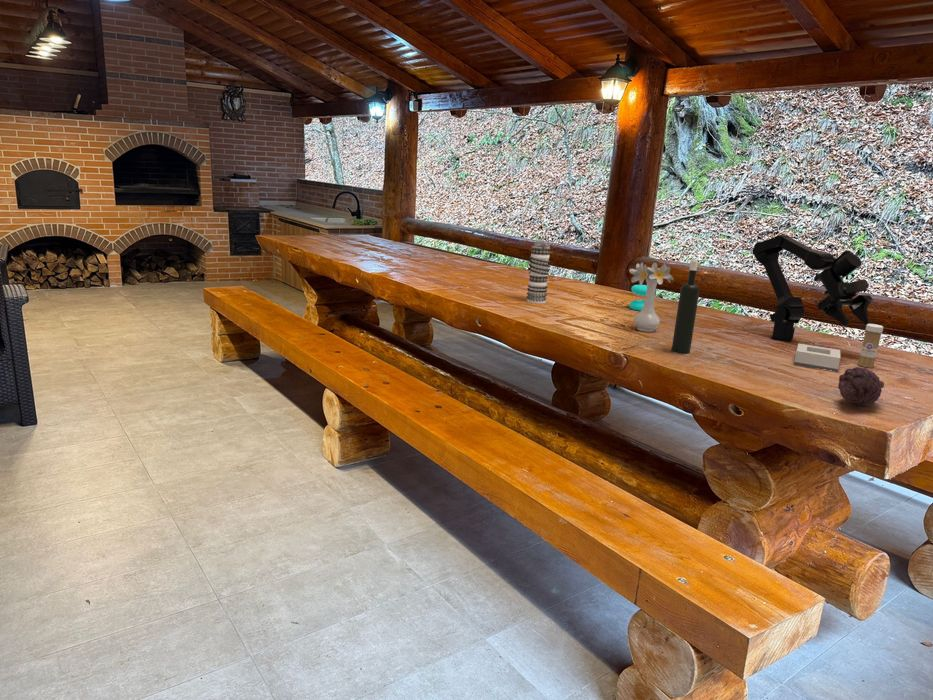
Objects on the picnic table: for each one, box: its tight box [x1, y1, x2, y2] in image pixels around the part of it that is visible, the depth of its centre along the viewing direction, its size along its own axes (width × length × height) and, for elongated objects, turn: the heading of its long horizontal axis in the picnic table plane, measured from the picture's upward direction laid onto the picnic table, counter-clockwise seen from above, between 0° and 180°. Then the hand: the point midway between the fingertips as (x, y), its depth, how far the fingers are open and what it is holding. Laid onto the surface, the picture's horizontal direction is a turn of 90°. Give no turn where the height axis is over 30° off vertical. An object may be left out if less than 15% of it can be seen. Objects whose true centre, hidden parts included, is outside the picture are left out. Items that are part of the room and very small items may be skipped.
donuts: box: [628, 284, 657, 312], centre depth 274 cm, size 10×10×10 cm
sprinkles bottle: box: [857, 323, 884, 369], centre depth 203 cm, size 5×5×14 cm
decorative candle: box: [526, 242, 551, 305], centre depth 276 cm, size 9×9×25 cm
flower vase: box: [628, 262, 675, 333], centre depth 234 cm, size 13×18×25 cm
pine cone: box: [837, 366, 885, 407], centre depth 165 cm, size 18×10×10 cm, turn 131°
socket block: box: [793, 343, 841, 372], centre depth 203 cm, size 12×12×4 cm
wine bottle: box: [671, 258, 700, 355], centre depth 206 cm, size 6×6×30 cm
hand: (857, 324), depth 207 cm, fingers open, 9 cm apart
